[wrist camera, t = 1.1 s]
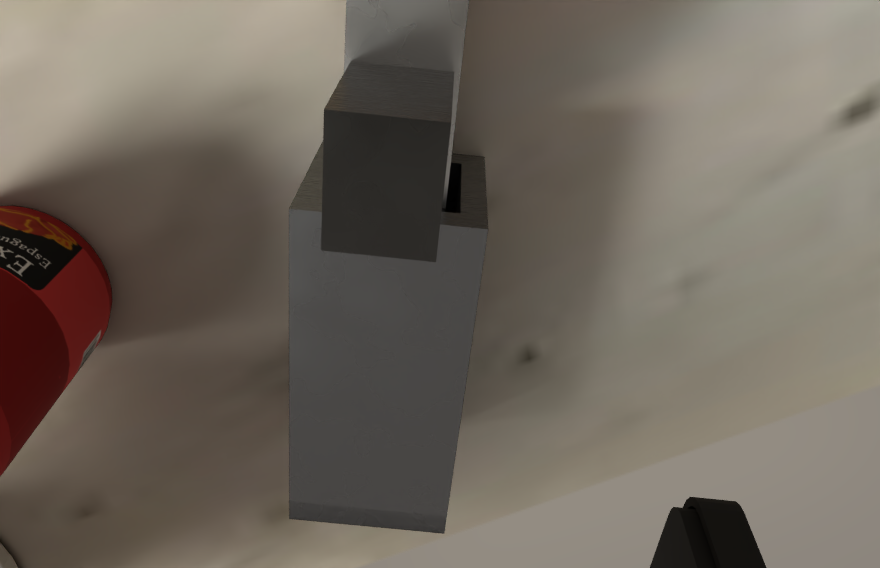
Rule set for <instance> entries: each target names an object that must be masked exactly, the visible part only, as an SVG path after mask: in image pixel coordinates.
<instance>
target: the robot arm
mask: <svg viewBox="0 0 880 568" xmlns="http://www.w3.org/2000/svg"><path fill="white" fill-rule="evenodd" d="M0 568H18V567H17V565H16V563H15V561H14V559H13V557H12V556H11V555H10V554H9V553H8V551H7V550H6V549H5V548H4V546H3V545H2V544H1V543H0ZM650 568H766V566H765V563H764V561H763V558H762V556H761V553H760V551H759V548H758V546H757V543H756V541H755V538H754V536H753V533H752V531H751V529H750V526H749V524H748V521H747V519H746V516H745V514H744V511H743V510H742V508H741V506H740V505H739V504H738V503H737V502H735V501H725V500H716V499H706V498H696V497H690V498H689V499H687V500H686V502H685V504H684V506H683V508H678V507H673V508H672V509H671V511H670V513H669V515H668V518H667V521H666V523H665V527H664V529H663V532H662V535H661V538H660V540H659V543H658V546H657V549H656V552H655V555H654V558H653V561H652V563H651V566H650Z"/></svg>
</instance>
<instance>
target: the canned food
mask: <svg viewBox="0 0 880 568" xmlns="http://www.w3.org/2000/svg"><path fill="white" fill-rule="evenodd" d="M111 305H112V292H111V285H110V281H109V278H108V274H107V272H106V270H105V268H104V266H103V264H102V262H101V260H100V258H99V257H98V255H97V254H96V253H95V251H94V250H93V248H92V247H91V246H90V245H89V244H88V243H87V242H86V241H85V240H84V239H83V238H82V237H81V236H80V235H79V234H78V233H77V232H76V231H74V230H73V229H72V228H70V227H69V226H68V225H66V224H65V223H63V222H62V221H60V220H58V219H56V218H54V217H52V216H50V215H48V214H46V213H43V212H40V211H37V210H34V209H31V208H25V207H18V206H0V476H1V475H2V474H3V472H4V471H5V470H6V468H7V467H8V466H9V464H10V463H11V462H12V460H13V459H14V457H15V456H16V455H17V453H18V452H19V451H20V449H21V448H22V447H23V445H24V444H25V443H26V441H27V440H28V438H29V437H30V436H31V434H32V433H33V432H34V430H35V429H36V428H37V426H38V425H39V424H40V422H41V421H42V419H43V418H44V417H45V415H46V414H47V413H48V411H49V410H50V409H51V407H52V406H53V405H54V403H55V402H56V400H57V399H58V398H59V396H60V395H61V394H62V392H63V391H64V390H65V388H66V387H67V385H68V384H69V383H70V381H71V380H72V379H73V377H74V376H75V375H76V373H77V372H78V371H79V369H80V368H81V366H82V365H83V364H84V362H85V361H86V360H87V358H88V357H89V356H90V354H91V353H92V352H93V350H94V349H95V347H96V346H97V345H98V343H99V342H100V341H101V339H102V337H103V335H104V333H105V331H106V329H107V326H108V322H109V316H110V311H111Z"/></svg>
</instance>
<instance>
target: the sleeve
mask: <svg viewBox="0 0 880 568" xmlns="http://www.w3.org/2000/svg"><path fill="white" fill-rule="evenodd" d="M322 182H323V142H322V144H321V146H320V148H319V150H318V152H317V154H316V156H315V158H314V160H313V162H312V164H311V166H310V168H309V170H308V172H307V174H306V176H305V178H304V180H303V182H302V184H301V186H300V188H299V190H298V192H297V194H296V196H295V198H294V200H293V202H292V204H291V206H290V208H289V519H296V520H307V521H317V522H328V523H338V524H349V525H360V526H370V527H381V528H391V529H402V530H412V531H423V532H433V533H444V531H445V524H446V517H447V510H448V504H449V497H450V490H451V483H452V476H453V469H454V462H455V455H456V448H457V441H458V434H459V428H460V421H461V414H462V407H463V400H464V393H465V386H466V379H467V372H468V365H469V358H470V351H471V345H472V338H473V331H474V324H475V317H476V310H477V303H478V296H479V289H480V282H481V275H482V269H483V262H484V255H485V248H486V241H487V234H488V217H487V198H486V178H485V159H484V157H480V156H470V155H461V154H452V157H451V166H450V174H449V183H448V192H447V201H446V210H445V212H441V222H440V231H439V240H438V249H437V258H436V262H429V261H419V260H409V259H399V258H390V257H380V256H370V255H360V254H350V253H341V252H331V251H321V226H322Z"/></svg>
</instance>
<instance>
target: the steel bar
mask: <svg viewBox="0 0 880 568" xmlns="http://www.w3.org/2000/svg"><path fill="white" fill-rule="evenodd" d="M468 5H469V0H347V2H346V30H345V59H344V74H343V76H342V78H341V80H340V81H339V83H338V85H337V87H336V89H335V91H334V92H333V94H332V96H331V98H330V100H329V101H328V103H327V105H326V107H325V109H324V138H323V182H322V226H321V251H331V252H341V253H350V254H360V255H370V256H380V257H390V258H399V259H409V260H419V261H429V262H436V258H437V249H438V240H439V231H440V222H441V212H445V210H446V201H447V192H448V183H449V174H450V166H451V157H452V148H453V139H454V130H455V121H456V112H457V103H458V94H459V85H460V76H461V67H462V58H463V49H464V40H465V31H466V22H467V14H468Z"/></svg>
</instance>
